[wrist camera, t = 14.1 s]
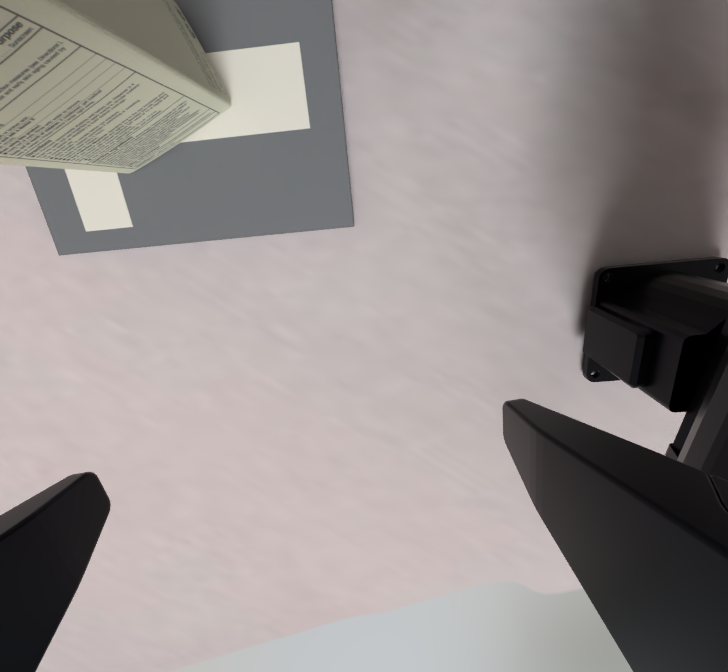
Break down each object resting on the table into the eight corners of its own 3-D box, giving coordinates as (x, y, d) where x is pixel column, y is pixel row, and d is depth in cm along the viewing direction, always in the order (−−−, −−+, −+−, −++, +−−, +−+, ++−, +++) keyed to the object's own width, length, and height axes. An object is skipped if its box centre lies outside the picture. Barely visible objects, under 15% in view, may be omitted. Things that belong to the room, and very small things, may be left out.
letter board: (322, -89, 15) (320, -105, 14) (354, 225, 19) (353, 226, 18) (-37, -40, 15) (-58, -53, 15) (70, 253, 20) (58, 255, 19)
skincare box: (177, -1, 15) (-437, -637, 4) (237, 108, 16) (-70, -99, 5) (58, 84, 16) (-702, -192, 5) (124, 181, 17) (-343, 149, 6)
